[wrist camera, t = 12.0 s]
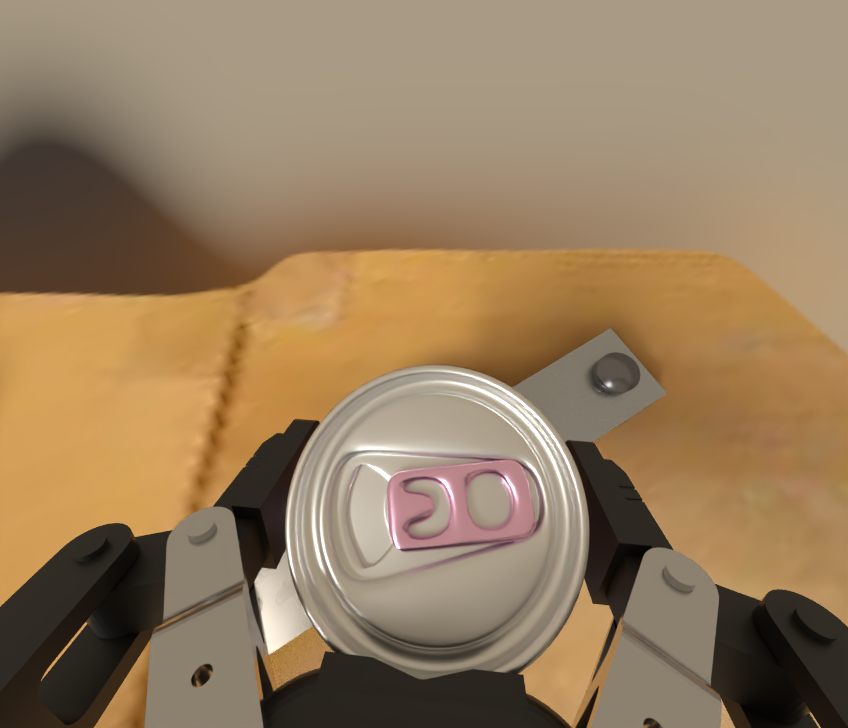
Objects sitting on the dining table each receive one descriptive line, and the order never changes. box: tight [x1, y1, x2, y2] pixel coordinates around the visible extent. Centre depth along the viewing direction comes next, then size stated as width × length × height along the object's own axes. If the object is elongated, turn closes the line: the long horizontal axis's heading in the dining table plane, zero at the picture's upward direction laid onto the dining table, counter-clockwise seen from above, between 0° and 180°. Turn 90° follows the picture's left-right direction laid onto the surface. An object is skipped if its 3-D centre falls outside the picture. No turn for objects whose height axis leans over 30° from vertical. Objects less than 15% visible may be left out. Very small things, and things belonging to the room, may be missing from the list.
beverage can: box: [285, 365, 589, 679], centre depth 13 cm, size 6×6×15 cm
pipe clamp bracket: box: [255, 328, 667, 654], centre depth 19 cm, size 29×12×3 cm, turn 120°
